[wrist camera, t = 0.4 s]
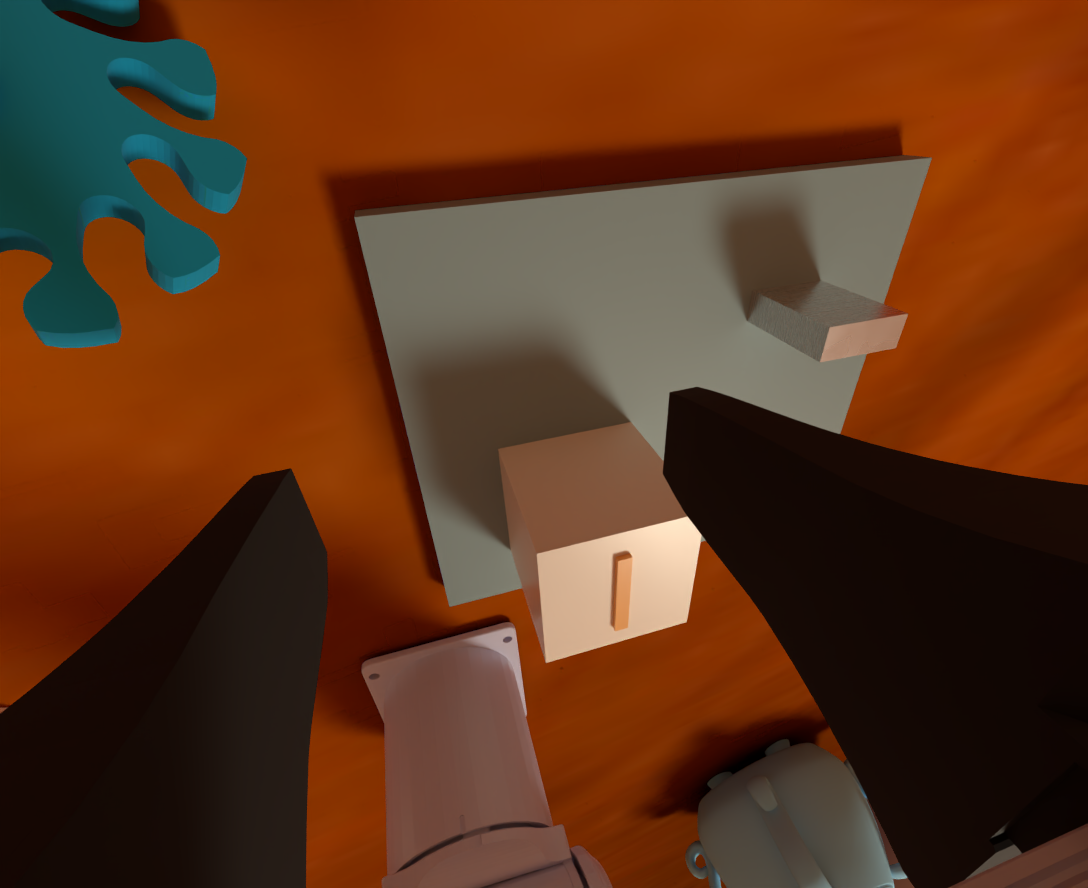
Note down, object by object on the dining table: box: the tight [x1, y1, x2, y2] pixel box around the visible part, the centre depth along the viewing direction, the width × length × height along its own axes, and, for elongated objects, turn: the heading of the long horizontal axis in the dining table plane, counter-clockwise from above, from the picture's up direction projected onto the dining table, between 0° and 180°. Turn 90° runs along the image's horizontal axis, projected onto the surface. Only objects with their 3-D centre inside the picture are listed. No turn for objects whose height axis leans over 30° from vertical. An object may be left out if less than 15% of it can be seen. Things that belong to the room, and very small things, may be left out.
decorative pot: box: [685, 739, 908, 888], centre depth 45 cm, size 16×16×14 cm
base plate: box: [354, 155, 932, 607], centre depth 21 cm, size 17×20×1 cm
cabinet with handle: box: [498, 422, 702, 663], centre depth 19 cm, size 6×6×6 cm
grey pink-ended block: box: [747, 280, 908, 362], centre depth 18 cm, size 1×3×4 cm, turn 93°
